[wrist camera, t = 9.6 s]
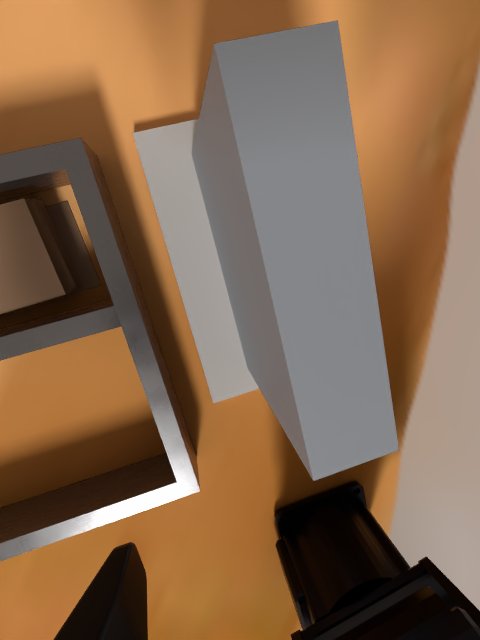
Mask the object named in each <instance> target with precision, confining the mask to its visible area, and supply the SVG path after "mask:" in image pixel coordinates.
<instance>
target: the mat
mask: <svg viewBox="0 0 480 640" xmlns="http://www.w3.org/2000/svg"><path fill="white" fill-rule="evenodd" d="M198 120H199V119H195V120H190V121H186V122H181V123H176V124H172V125H167V126H162V127H158V128H153V129H148V130H144V131H139V132H134V133H133V136H134V140H135V143H136V146H137V150H138V153H139V156H140V160H141V163H142V166H143V170H144V173H145V176H146V180H147V183H148V186H149V190H150V193H151V196H152V200H153V203H154V206H155V210H156V213H157V216H158V220H159V223H160V226H161V230H162V233H163V236H164V240H165V243H166V246H167V250H168V253H169V256H170V260H171V263H172V266H173V270H174V273H175V276H176V280H177V283H178V286H179V290H180V293H181V296H182V300H183V303H184V306H185V310H186V313H187V317H188V320H189V323H190V327H191V330H192V333H193V337H194V340H195V343H196V347H197V350H198V353H199V357H200V360H201V363H202V367H203V370H204V373H205V377H206V380H207V383H208V387H209V390H210V393H211V397H212V400H213V403H216V402H219V401H222V400H225V399H228V398H232V397H235V396H238V395H241V394H244V393H247V392H250V391H253V390H256V389H259V387H258V385H257V384H256V382H255V380H254V379H253V377H252V375H251V373H250V372H249V370H248V368H247V365H246V361H245V357H244V353H243V349H242V345H241V342H240V338H239V334H238V330H237V326H236V323H235V319H234V315H233V311H232V307H231V303H230V300H229V296H228V292H227V288H226V284H225V280H224V277H223V273H222V269H221V265H220V261H219V258H218V254H217V250H216V246H215V242H214V238H213V235H212V231H211V227H210V223H209V219H208V216H207V212H206V208H205V204H204V200H203V196H202V193H201V189H200V185H199V181H198V177H197V173H196V170H195V166H194V162H193V158H192V149H193V145H194V140H195V135H196V130H197V125H198Z"/></svg>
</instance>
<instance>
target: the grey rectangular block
mask: <svg viewBox="0 0 480 640" xmlns="http://www.w3.org/2000/svg"><path fill="white" fill-rule="evenodd" d="M192 158H193V162H194V166H195V170H196V173H197V177H198V181H199V185H200V189H201V193H202V196H203V200H204V204H205V208H206V212H207V216H208V219H209V223H210V227H211V231H212V235H213V238H214V242H215V246H216V250H217V254H218V258H219V261H220V265H221V269H222V273H223V277H224V280H225V284H226V288H227V292H228V296H229V300H230V303H231V307H232V311H233V315H234V319H235V323H236V326H237V330H238V334H239V338H240V342H241V345H242V349H243V353H244V357H245V361H246V365H247V368H248V370H249V372H250V373H251V375H252V377H253V379H254V380H255V382H256V384H257V385H258V387H259V389H260V391H261V392H262V394H263V396H264V397H265V399H266V401H267V403H268V404H269V406H270V408H271V409H272V411H273V413H274V414H275V416H276V418H277V420H278V421H279V423H280V425H281V426H282V428H283V430H284V432H285V433H286V435H287V437H288V438H289V440H290V442H291V444H292V445H293V447H294V449H295V450H296V452H297V454H298V456H299V457H300V459H301V461H302V462H303V464H304V466H305V467H306V469H307V471H308V473H309V474H310V476H311V478H312V479H313V481H315V480H318V479H321V478H324V477H326V476H329V475H332V474H335V473H337V472H340V471H343V470H346V469H348V468H351V467H354V466H357V465H359V464H362V463H365V462H368V461H370V460H373V459H376V458H379V457H381V456H384V455H387V454H390V453H392V452H395V451H398V450H399V447H398V440H397V433H396V426H395V419H394V412H393V405H392V398H391V391H390V384H389V377H388V370H387V363H386V356H385V349H384V342H383V335H382V327H381V320H380V313H379V306H378V299H377V292H376V285H375V278H374V271H373V264H372V257H371V250H370V243H369V236H368V229H367V222H366V215H365V208H364V201H363V194H362V187H361V180H360V173H359V166H358V159H357V152H356V145H355V138H354V131H353V124H352V117H351V110H350V103H349V96H348V89H347V82H346V75H345V68H344V61H343V54H342V47H341V40H340V33H339V25H338V20H337V21H332V22H327V23H321V24H316V25H311V26H305V27H300V28H295V29H289V30H284V31H279V32H273V33H268V34H263V35H257V36H252V37H247V38H241V39H236V40H231V41H225V42H220V43H215V44H214V46H213V51H212V56H211V61H210V66H209V71H208V76H207V81H206V86H205V91H204V96H203V100H202V105H201V110H200V115H199V120H198V125H197V130H196V135H195V140H194V145H193V149H192Z"/></svg>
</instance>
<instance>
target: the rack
mask: <svg viewBox="0 0 480 640" xmlns="http://www.w3.org/2000/svg"><path fill="white" fill-rule="evenodd" d="M69 184H71V186H72V189H73V192H74V194H75V197H76V200H77V203H78V206H79V208H80V211H81V214H82V217H83V220H84V223H85V225H86V228H87V231H88V234H89V237H90V239H91V242H92V245H93V248H94V251H95V253H96V256H97V259H98V262H99V265H100V267H101V270H102V273H103V276H104V279H105V281H106V284H107V287H108V290H109V293H110V295H111V298H112V299H111V300H107V301H103V302H100V303H96V304H92V305H89V306H85V307H81V308H78V309H74V310H70V311H67V312H63V313H59V314H56V315H52V316H48V317H45V318H41V319H37V320H34V321H30V322H26V323H23V324H19V325H15V326H12V327H8V328H4V329H1V330H0V360H4V359H7V358H11V357H14V356H18V355H21V354H25V353H28V352H32V351H36V350H39V349H43V348H46V347H50V346H53V345H57V344H60V343H64V342H67V341H71V340H74V339H78V338H82V337H85V336H89V335H92V334H96V333H99V332H103V331H106V330H110V329H113V328H117V327H120V326H122V329H123V332H124V335H125V338H126V340H127V343H128V346H129V349H130V352H131V354H132V357H133V360H134V363H135V366H136V368H137V371H138V374H139V377H140V380H141V382H142V385H143V388H144V391H145V394H146V397H147V399H148V402H149V405H150V408H151V411H152V413H153V416H154V419H155V422H156V425H157V427H158V430H159V433H160V436H161V439H162V441H163V444H164V447H165V450H166V453H165V454H162V455H159V456H156V457H153V458H150V459H147V460H144V461H141V462H138V463H135V464H132V465H129V466H126V467H123V468H120V469H117V470H114V471H111V472H108V473H105V474H102V475H99V476H96V477H93V478H90V479H87V480H84V481H81V482H78V483H75V484H72V485H69V486H66V487H63V488H60V489H57V490H54V491H51V492H48V493H45V494H42V495H39V496H36V497H33V498H30V499H27V500H24V501H21V502H18V503H15V504H12V505H9V506H6V507H3V508H0V561H3V560H5V559H8V558H11V557H14V556H17V555H20V554H22V553H25V552H28V551H31V550H34V549H37V548H40V547H42V546H45V545H48V544H51V543H54V542H57V541H59V540H62V539H65V538H68V537H71V536H74V535H76V534H79V533H82V532H85V531H88V530H91V529H93V528H96V527H99V526H102V525H105V524H108V523H111V522H113V521H116V520H119V519H122V518H125V517H128V516H130V515H133V514H136V513H139V512H142V511H145V510H147V509H150V508H153V507H156V506H159V505H162V504H165V503H167V502H170V501H173V500H176V499H179V498H182V497H184V496H187V495H190V494H193V493H196V492H199V491H200V485H199V475H198V466H197V457H196V454H195V451H194V448H193V445H192V442H191V439H190V436H189V433H188V430H187V427H186V424H185V421H184V418H183V415H182V412H181V409H180V406H179V403H178V400H177V397H176V394H175V391H174V388H173V385H172V382H171V379H170V376H169V373H168V370H167V367H166V363H165V360H164V357H163V354H162V351H161V348H160V345H159V342H158V339H157V336H156V333H155V330H154V327H153V324H152V321H151V318H150V315H149V312H148V309H147V306H146V303H145V300H144V297H143V294H142V291H141V288H140V285H139V282H138V279H137V276H136V273H135V270H134V267H133V264H132V261H131V258H130V254H129V251H128V248H127V245H126V242H125V239H124V236H123V233H122V230H121V227H120V224H119V221H118V218H117V215H116V212H115V209H114V206H113V203H112V200H111V197H110V194H109V191H108V188H107V185H106V182H105V179H104V176H103V173H102V170H101V167H100V164H99V161H98V158H97V155H96V154H95V153H94V152H93V151H92V150H91V148H90V147H89V146H88V145H87V144H86V143H85V142H84V141H83V139H82V138H77V139H72V140H68V141H63V142H58V143H54V144H49V145H44V146H39V147H35V148H30V149H25V150H21V151H16V152H11V153H6V154H2V155H0V200H3V199H8V198H12V197H17V196H21V195H25V194H30V193H34V192H39V191H43V190H47V189H52V188H56V187H61V186H65V185H69Z"/></svg>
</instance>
